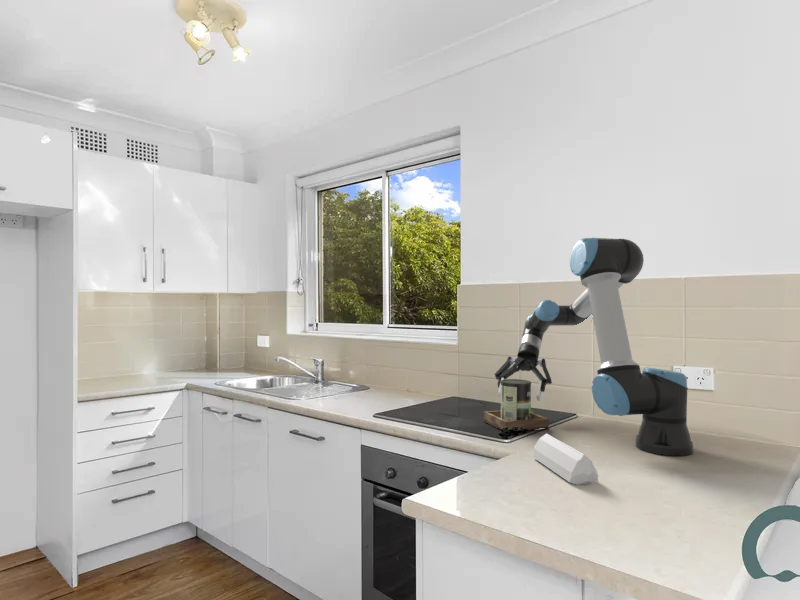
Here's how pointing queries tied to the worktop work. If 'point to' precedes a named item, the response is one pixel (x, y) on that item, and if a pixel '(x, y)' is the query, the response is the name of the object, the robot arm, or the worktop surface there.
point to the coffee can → (515, 399)
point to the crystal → (565, 460)
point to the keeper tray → (533, 423)
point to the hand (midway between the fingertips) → (518, 396)
